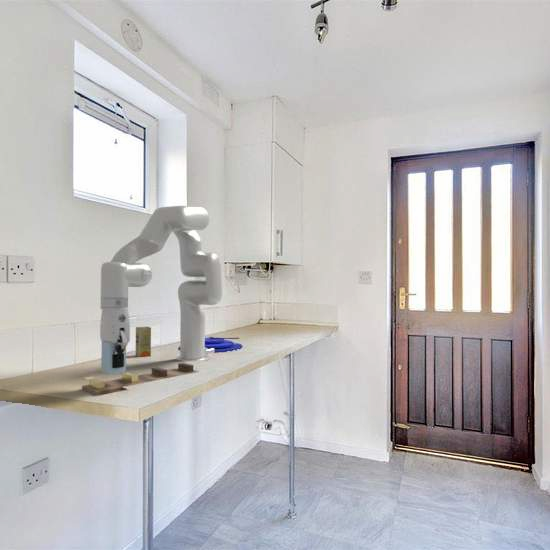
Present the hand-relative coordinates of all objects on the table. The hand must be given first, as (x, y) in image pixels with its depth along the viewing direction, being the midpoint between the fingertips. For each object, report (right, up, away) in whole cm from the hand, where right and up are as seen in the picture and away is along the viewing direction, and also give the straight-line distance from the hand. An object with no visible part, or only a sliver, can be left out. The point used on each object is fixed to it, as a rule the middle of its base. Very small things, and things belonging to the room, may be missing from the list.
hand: (113, 365), depth 116 cm
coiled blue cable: (+17, -9, +73) cm, 75 cm away
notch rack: (+7, -7, +7) cm, 12 cm away
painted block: (0, -2, 0) cm, 2 cm away
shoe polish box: (-8, -8, +51) cm, 53 cm away
